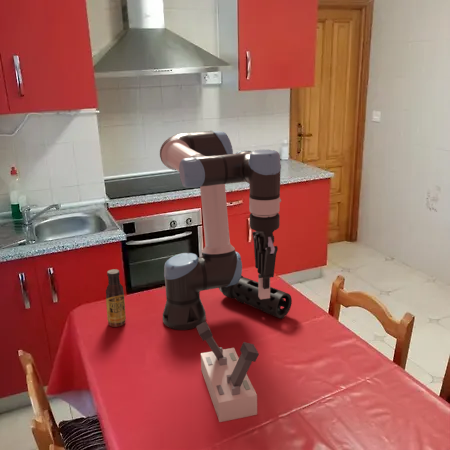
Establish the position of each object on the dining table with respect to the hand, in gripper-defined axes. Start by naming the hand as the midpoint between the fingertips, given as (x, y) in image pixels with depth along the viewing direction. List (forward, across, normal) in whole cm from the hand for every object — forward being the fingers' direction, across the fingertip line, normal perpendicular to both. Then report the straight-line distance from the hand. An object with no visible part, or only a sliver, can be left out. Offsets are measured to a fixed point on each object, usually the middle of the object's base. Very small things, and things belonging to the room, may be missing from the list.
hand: (264, 297), depth 127 cm
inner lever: (+20, +5, +11) cm, 23 cm away
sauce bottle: (+27, +44, +39) cm, 65 cm away
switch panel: (+26, -2, +11) cm, 29 cm away
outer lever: (+20, -8, +11) cm, 24 cm away
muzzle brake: (+27, +42, -10) cm, 50 cm away
